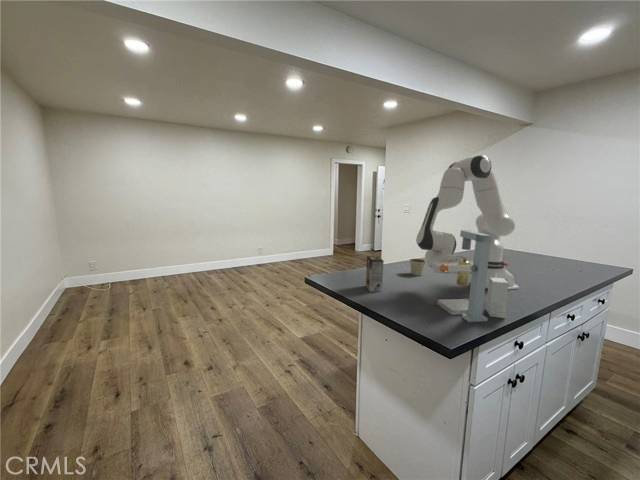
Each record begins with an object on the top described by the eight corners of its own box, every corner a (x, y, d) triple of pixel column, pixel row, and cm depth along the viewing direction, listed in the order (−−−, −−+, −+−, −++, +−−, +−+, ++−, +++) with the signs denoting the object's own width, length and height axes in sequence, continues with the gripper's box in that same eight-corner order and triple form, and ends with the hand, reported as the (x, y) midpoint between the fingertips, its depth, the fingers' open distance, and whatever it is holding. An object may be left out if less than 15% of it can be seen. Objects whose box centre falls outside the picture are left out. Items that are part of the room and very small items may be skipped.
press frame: (465, 306, 132) (473, 230, 126) (487, 321, 117) (498, 235, 111) (448, 307, 131) (455, 230, 125) (468, 321, 116) (478, 235, 110)
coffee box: (365, 285, 157) (366, 255, 154) (377, 285, 158) (378, 255, 155) (369, 291, 148) (371, 260, 145) (382, 291, 149) (384, 260, 146)
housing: (464, 282, 130) (466, 256, 128) (470, 285, 125) (473, 259, 123) (454, 282, 129) (456, 256, 127) (460, 285, 125) (463, 259, 123)
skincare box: (505, 319, 120) (510, 283, 117) (488, 316, 122) (492, 281, 119) (500, 311, 127) (505, 277, 125) (484, 309, 129) (488, 276, 127)
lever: (471, 270, 117) (472, 262, 117) (476, 273, 114) (477, 265, 113) (437, 271, 115) (438, 263, 115) (441, 273, 112) (442, 265, 112)
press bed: (466, 303, 136) (466, 298, 135) (483, 314, 124) (484, 309, 124) (437, 303, 134) (437, 299, 134) (452, 315, 122) (452, 310, 122)
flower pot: (425, 277, 175) (426, 262, 173) (409, 275, 177) (410, 261, 175) (423, 272, 184) (424, 259, 182) (407, 271, 186) (408, 258, 184)
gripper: (426, 257, 137) (442, 265, 123) (468, 257, 139) (487, 264, 126) (425, 270, 138) (440, 279, 125) (466, 270, 140) (486, 278, 127)
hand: (464, 272), depth 125 cm, fingers closed on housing, 5 cm apart
